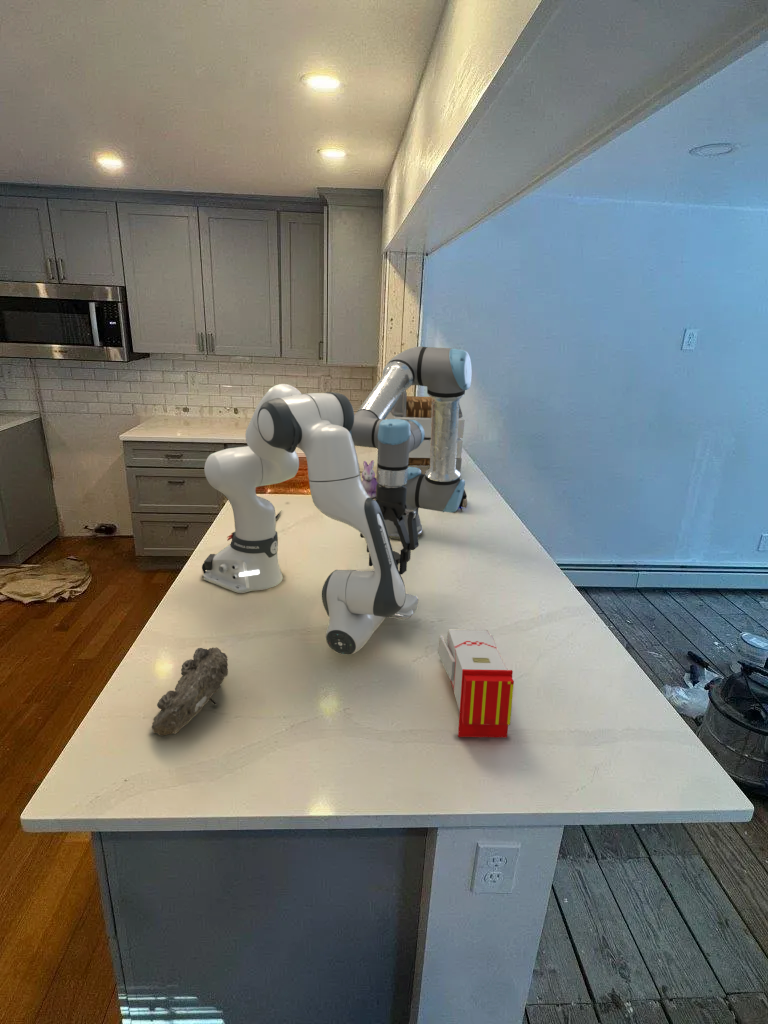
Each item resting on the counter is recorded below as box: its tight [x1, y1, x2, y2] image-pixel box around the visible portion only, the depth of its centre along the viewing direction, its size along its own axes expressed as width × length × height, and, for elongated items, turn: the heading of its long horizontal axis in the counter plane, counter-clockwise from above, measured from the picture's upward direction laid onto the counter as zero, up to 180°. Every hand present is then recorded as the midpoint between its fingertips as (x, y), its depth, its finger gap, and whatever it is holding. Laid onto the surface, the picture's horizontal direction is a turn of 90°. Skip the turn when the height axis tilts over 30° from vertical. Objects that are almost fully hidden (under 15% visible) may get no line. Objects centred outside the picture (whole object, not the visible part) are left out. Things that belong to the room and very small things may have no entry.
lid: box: [393, 550, 400, 565], centre depth 145 cm, size 6×6×2 cm
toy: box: [437, 628, 515, 738], centre depth 117 cm, size 12×13×30 cm
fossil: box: [152, 646, 229, 736], centre depth 110 cm, size 22×10×15 cm
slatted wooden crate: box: [385, 390, 465, 475], centre depth 268 cm, size 34×33×41 cm
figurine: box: [361, 460, 378, 499], centre depth 236 cm, size 9×10×15 cm
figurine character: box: [457, 489, 468, 512], centre depth 228 cm, size 7×8×15 cm
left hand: (387, 586), depth 149 cm, fingers closed on jar, 5 cm apart
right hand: (387, 568), depth 146 cm, fingers open, 8 cm apart
